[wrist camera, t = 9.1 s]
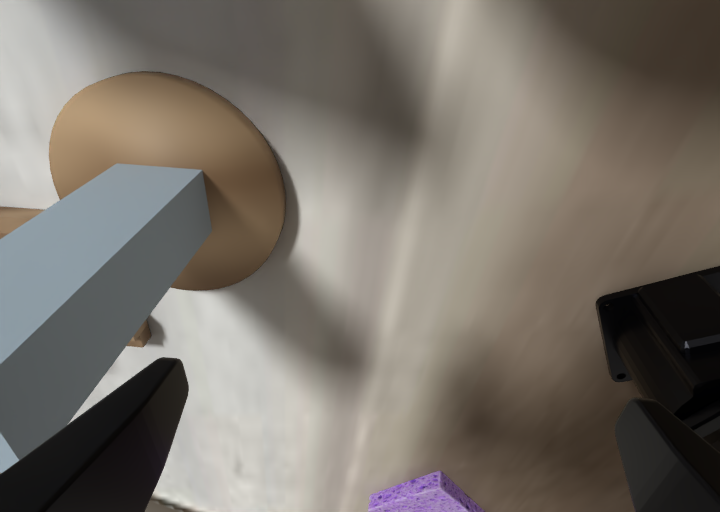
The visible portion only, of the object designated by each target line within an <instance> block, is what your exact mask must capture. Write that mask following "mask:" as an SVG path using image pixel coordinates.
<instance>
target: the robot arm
mask: <svg viewBox="0 0 720 512" xmlns="http://www.w3.org/2000/svg"><path fill="white" fill-rule="evenodd" d="M606 304H609V305H608V306H605V305H606ZM596 309H597V314H598V319H599V324H600V329H601V334H602V339H603V344H604V349H605V354H606V359H607V364H608V369H609V373H610V375H611V377H612V379H613V380H614V381H615V382H624V381H629V380H633V381H634V383H635V385H636V387H637V388H638V390H639V392H640V394H641V395H642V397H643V398H632V399H630V400H629V401H628V402H627V404H626V406H625V407H624V409H623V411H622V413H621V414H620V416H619V418H618V420H617V421H616V424H615V436H616V440H617V444H618V447H619V451H620V455H621V459H622V463H623V467H624V471H625V474H626V478H627V482H628V486H629V490H630V494H631V497H632V501H633V505H634V508H635V512H720V266H718V267H714V268H710V269H706V270H702V271H698V272H694V273H690V274H686V275H682V276H678V277H675V278H671V279H667V280H663V281H659V282H655V283H651V284H647V285H643V286H639V287H635V288H632V289H628V290H624V291H620V292H616V293H612V294H608V295H604V296H602V297H600V298H599V299H598V300H597V301H596ZM188 391H189V386H188V381H187V378H186V374H185V370H184V366H183V363H182V361H181V360H180V359H177V358H165V357H162V358H159V359H157V360H155V361H154V362H153V363H151V364H150V365H149V366H147V367H146V368H144V369H143V370H142V371H140V372H139V373H138V374H136V375H135V376H134V377H132V378H131V379H129V380H128V381H127V382H125V383H124V384H123V385H121V386H120V387H119V388H117V389H116V390H114V391H113V392H112V393H110V394H109V395H108V396H106V397H105V398H104V399H102V400H101V401H99V402H98V403H97V404H95V405H94V406H93V407H91V408H90V409H89V410H87V411H86V412H84V413H83V414H82V415H80V416H79V417H78V418H76V419H75V420H74V421H72V422H71V423H69V424H68V425H67V426H65V427H64V428H63V429H61V430H60V431H58V432H57V433H56V434H54V435H53V436H52V437H50V438H49V439H48V440H46V441H45V442H43V443H42V444H41V445H39V446H38V447H37V448H35V449H34V450H33V451H31V452H30V453H28V454H27V455H26V456H24V457H23V458H22V459H20V460H19V461H18V462H16V463H15V464H13V465H12V466H11V467H9V468H8V469H7V470H5V471H4V472H3V473H1V474H0V512H145V509H146V507H147V505H148V503H149V501H150V498H151V496H152V494H153V492H154V489H155V487H156V485H157V483H158V480H159V478H160V476H161V473H162V471H163V469H164V466H165V463H166V460H167V457H168V454H169V451H170V448H171V445H172V442H173V439H174V436H175V433H176V430H177V427H178V424H179V421H180V418H181V415H182V412H183V409H184V406H185V403H186V400H187V396H188Z"/></svg>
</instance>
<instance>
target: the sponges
mask: <svg viewBox="0 0 720 512" xmlns="http://www.w3.org/2000/svg"><path fill="white" fill-rule="evenodd" d="M369 499H370V500H371V502H370V503H369V508H368V512H485V511H484V510H483V509H481V508H480V507H479V506H478V505H477V504H476V503H475V502H474V501H473V500H472V499H471V498H470V497H468V496H467V495H465V493H464V492H463V491H462V490H461V489H460V488H459V487H458V486H457V485H456V484H455V483H454V482H452V481H451V480H450V479H449V478H448V477H447V476H446V475H445V474H443V473H442V471H437V472H434V473H431V474H428V475H425V476H422V477H419V478H417V479H414V480H411V481H408V482H405V483H402V484H400V485H397V486H394V487H391V488H388V489H385V490H383V491H379V492H377V493H374V494H372V495H370V498H369Z"/></svg>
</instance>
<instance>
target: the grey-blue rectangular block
mask: <svg viewBox="0 0 720 512" xmlns="http://www.w3.org/2000/svg"><path fill="white" fill-rule="evenodd" d="M211 232H212V227H211V221H210V214H209V208H208V202H207V196H206V190H205V184H204V177H203V171H202V170H197V169H184V168H171V167H158V166H144V165H131V164H118V163H117V164H115V165H114V166H112V167H110V168H109V169H107V170H106V171H104V172H103V173H101V174H100V175H98V176H97V177H95V178H94V179H92V180H91V181H89V182H87V183H86V184H84V185H83V186H81V187H80V188H78V189H77V190H75V191H74V192H72V193H71V194H69V195H67V196H66V197H64V198H63V199H61V200H60V201H58V202H57V203H55V204H54V205H52V206H51V207H49V208H48V209H46V210H44V211H43V212H41V213H40V214H38V215H37V216H35V217H34V218H32V219H31V220H29V221H28V222H26V223H24V224H23V225H21V226H20V227H18V228H17V229H15V230H14V231H12V232H11V233H9V234H8V235H6V236H4V237H3V238H1V239H0V472H2V473H3V472H4V471H5V470H7V469H8V468H9V467H11V466H12V465H13V464H15V463H16V462H18V461H19V460H20V459H22V458H23V457H24V456H26V455H27V454H28V453H30V452H31V451H33V450H34V449H35V448H37V447H38V446H39V445H41V444H42V443H43V442H45V441H46V440H48V439H49V438H50V437H52V436H53V435H54V434H56V433H57V432H58V431H60V430H61V429H63V428H64V427H65V426H67V424H68V423H69V422H70V420H71V419H72V418H73V416H74V415H75V414H76V412H77V411H78V410H79V408H80V407H81V406H82V404H83V403H84V402H85V400H86V399H87V398H88V396H89V395H90V394H91V392H92V391H93V390H94V388H95V387H96V386H97V384H98V383H99V382H100V380H101V379H102V378H103V376H104V375H105V374H106V372H107V371H108V370H109V368H110V367H111V366H112V364H113V363H114V362H115V360H116V359H117V358H118V356H119V355H120V354H121V352H122V351H123V350H124V348H125V347H126V346H127V344H128V343H129V342H130V340H131V339H132V337H133V336H134V335H135V333H136V332H137V331H138V329H139V328H140V327H141V325H142V324H143V323H144V321H145V320H146V319H147V317H148V316H149V315H150V313H151V312H152V311H153V309H154V308H155V307H156V305H157V304H158V303H159V301H160V300H161V299H162V297H163V296H164V295H165V293H166V292H167V291H168V289H169V288H170V287H171V285H172V284H173V283H174V281H175V280H176V279H177V277H178V276H179V275H180V273H181V272H182V271H183V269H184V268H185V267H186V265H187V264H188V263H189V261H190V260H191V259H192V257H193V256H194V255H195V253H196V252H197V251H198V249H199V248H200V247H201V245H202V244H203V243H204V241H205V240H206V239H207V237H208V236H209V235H210V233H211Z"/></svg>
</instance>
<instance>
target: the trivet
mask: <svg viewBox="0 0 720 512" xmlns="http://www.w3.org/2000/svg"><path fill="white" fill-rule="evenodd" d="M49 161H50V170H51V174H52V178H53V182H54V186H55V188H56V191H57V194H58V196H59V198H60V200H61V199H63V198H64V197H66V196H67V195H69V194H71V193H72V192H74V191H75V190H77V189H78V188H80V187H81V186H83V185H84V184H86V183H87V182H89V181H91V180H92V179H94V178H95V177H97V176H98V175H100V174H101V173H103V172H104V171H106V170H107V169H109V168H110V167H112V166H114V165H115V164H117V163H118V164H131V165H144V166H158V167H171V168H184V169H197V170H202V171H203V177H204V184H205V190H206V196H207V202H208V208H209V214H210V221H211V227H212V232H211V233H210V235H209V236H208V237H207V239H206V240H205V241H204V243H203V244H202V245H201V247H200V248H199V249H198V251H197V252H196V253H195V255H194V256H193V257H192V259H191V260H190V261H189V263H188V264H187V265H186V267H185V268H184V269H183V271H182V272H181V273H180V275H179V276H178V277H177V279H176V280H175V281H174V283H173V284H172V285H171V288H176V289H181V290H193V291H197V290H212V289H219V288H223V287H227V286H230V285H233V284H235V283H237V282H240V281H242V280H243V279H245V278H247V277H248V276H250V275H251V274H253V273H254V272H255V271H256V270H258V269H259V268H260V267H261V265H262V264H263V263H264V262H265V261H266V260H267V258H268V257H269V255H270V253H271V252H272V250H273V248H274V246H275V244H276V242H277V240H278V237H279V235H280V233H281V230H282V227H283V223H284V219H285V210H286V197H285V188H284V183H283V178H282V175H281V172H280V169H279V166H278V163H277V161H276V159H275V157H274V155H273V153H272V151H271V149H270V147H269V146H268V144H267V142H266V141H265V139H264V138H263V136H262V135H261V133H260V132H259V131H258V130H257V128H256V127H255V126H254V125H253V124H252V122H251V121H250V120H249V119H248V118H247V117H246V116H245V115H244V114H243V113H242V112H241V111H240V110H239V109H237V108H236V107H235V106H234V105H232V104H231V103H230V102H229V101H227V100H226V99H225V98H223V97H222V96H220V95H218V94H217V93H215V92H214V91H212V90H210V89H209V88H206V87H204V86H202V85H200V84H198V83H196V82H194V81H191V80H188V79H185V78H182V77H179V76H176V75H171V74H166V73H161V72H146V71H142V72H130V73H125V74H121V75H117V76H113V77H110V78H107V79H104V80H101V81H99V82H96V83H94V84H92V85H90V86H87V87H86V88H84V89H83V90H81V91H80V92H78V93H77V94H75V95H74V96H73V97H72V98H71V99H70V100H69V101H68V102H67V103H66V104H65V106H64V107H63V109H62V110H61V112H60V113H59V115H58V116H57V119H56V121H55V124H54V126H53V129H52V133H51V138H50V145H49Z"/></svg>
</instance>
